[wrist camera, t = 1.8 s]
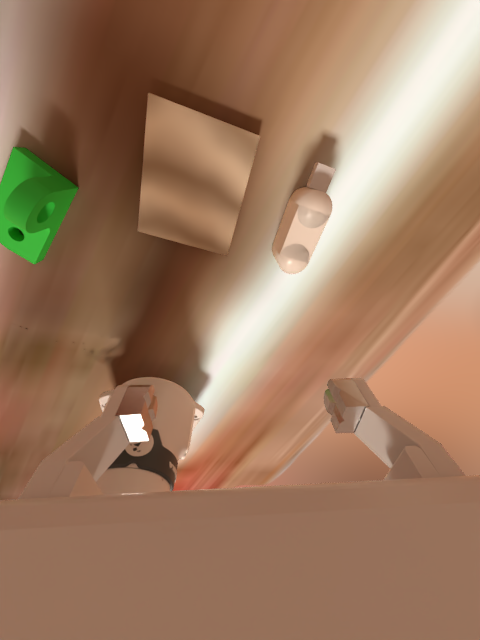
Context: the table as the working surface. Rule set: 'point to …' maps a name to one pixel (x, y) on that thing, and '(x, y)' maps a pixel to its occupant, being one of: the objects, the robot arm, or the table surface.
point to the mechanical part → (32, 204)
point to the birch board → (193, 176)
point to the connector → (304, 221)
